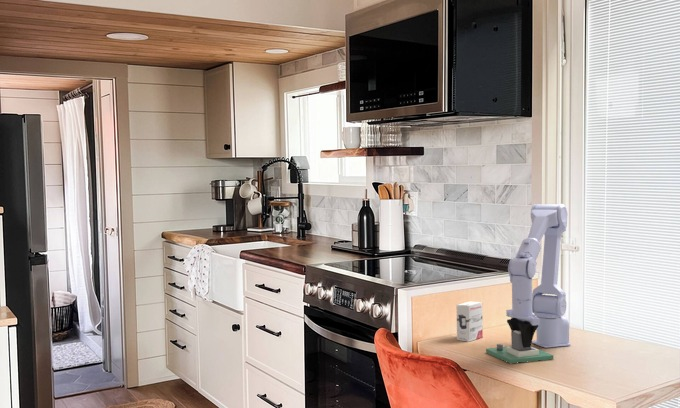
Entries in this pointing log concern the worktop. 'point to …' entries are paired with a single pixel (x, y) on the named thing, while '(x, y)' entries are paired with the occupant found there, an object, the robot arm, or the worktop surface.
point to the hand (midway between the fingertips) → (522, 345)
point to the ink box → (469, 321)
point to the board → (518, 354)
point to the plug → (518, 341)
